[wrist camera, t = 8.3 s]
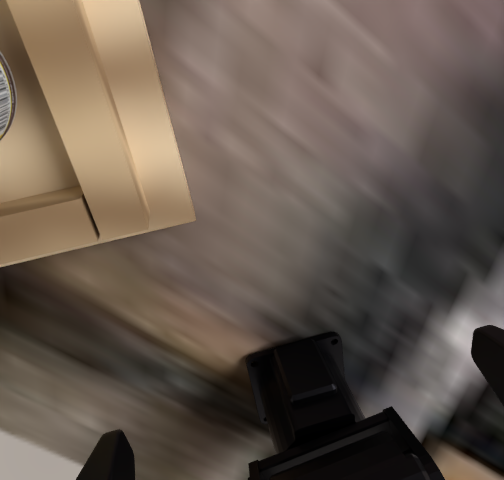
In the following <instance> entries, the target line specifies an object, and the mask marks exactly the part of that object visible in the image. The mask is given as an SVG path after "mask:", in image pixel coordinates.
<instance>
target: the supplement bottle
mask: <svg viewBox="0 0 504 480" xmlns="http://www.w3.org/2000/svg"><path fill="white" fill-rule="evenodd" d="M16 108H17V92H16V86H15V81H14V78H13V75H12V72H11V70H10V67H9V65H8V63H7V61H6V59H5V58H4V56H3V54H2V53H1V51H0V141H1V140H2V138H3V137H4V136H5V135H6V133H7V132H8V131H9V129H10V127H11V125H12V123H13V120H14V117H15V113H16Z"/></svg>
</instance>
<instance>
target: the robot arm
mask: <svg viewBox="0 0 504 480" xmlns="http://www.w3.org/2000/svg"><path fill="white" fill-rule="evenodd" d="M333 339H335V340H333ZM332 340H333V341H332ZM471 355H472V358H473V360H474V362H475V364H476V365H477V367H478V368H479V370H480V371H481V373H482V374H483V376H484V377H485V379H486V380H487V382H488V383H489V385H490V386H491V388H492V389H493V391H494V392H495V394H496V395H497V397H498V398H499V400H500V401H501V403H502V404H503V406H504V330H503V329H501V328H498V327H496V326H493V325H487V326H483V327H480V328H477V329H475V330H474V333H473V340H472V348H471ZM253 361H256V362H254V363H251V362H253ZM246 364H247V369H248V373H249V377H250V381H251V385H252V389H253V393H254V397H255V401H256V406H257V410H258V414H259V418H260V421H261V423H263V424H268V427H269V430H270V434H271V438H272V442H273V445H274V449H275V453H276V455H273V456H271V457H268V458H266V459H263V460H261V461H258V460H256V461H253V462H251V463H249V473H250V477H249V478H248V480H445V479H444V477H443V475H442V473H441V472H440V470H439V468H438V467H437V465H436V464H435V462H434V461H433V459H432V458H431V456H430V455H429V454H428V452H427V451H426V450H425V448H424V447H423V446H422V445H421V443H420V442H419V441H418V439H417V438H416V437H415V436H414V434H413V433H412V432H411V430H410V429H409V428H408V427H407V425H406V424H405V423H404V421H403V420H402V419H401V418H400V416H399V415H398V414H397V412H396V411H395V410H394V409H393V407H392V406H391V407H389V408H386V409H384V410H383V412H381V413H378V414H376V415H373V416H371V417H368V418H366V419H365V417H364V415H363V413H362V411H361V409H360V407H359V406H358V404H357V402H356V400H355V398H354V396H353V394H352V392H351V390H350V389H349V387H348V385H347V383H346V381H345V376H344V364H343V352H342V340H341V337H340V336H339V334H338V333H336V332H331V333H328V334H324V335H320V336H317V337H313V338H309V339H306V340H302V341H298V342H295V343H291V344H287V345H284V346H280V347H276V348H273V349H269V350H265V351H262V352H258V353H254V354H251V355H249V356H248V357H247V358H246ZM76 480H135V462H134V454H133V450H132V448H131V446H130V444H129V442H128V440H127V438H126V436H125V434H124V432H123V431H122V430H120V429H119V430H115V431H111V432H107V433H105V434H103V435H102V437H101V438H100V440H99V441H98V443H97V445H96V447H95V448H94V450H93V452H92V453H91V455H90V457H89V458H88V460H87V462H86V463H85V465H84V467H83V468H82V470H81V472H80V473H79V475H78V477H77V478H76Z"/></svg>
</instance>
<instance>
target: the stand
mask: <svg viewBox="0 0 504 480" xmlns="http://www.w3.org/2000/svg"><path fill="white" fill-rule="evenodd" d="M0 51H1V53H2V54H3V56H4V58H5V59H6V61H7V63H8V65H9V67H10V70H11V72H12V75H13V78H14V81H15V86H16V92H17V108H16V113H15V117H14V120H13V123H12V125H11V127H10V129H9V131H8V132H7V133H6V135H5V136H4V137H3V138H2V140H1V141H0V267H4V266H8V265H12V264H16V263H20V262H25V261H29V260H33V259H37V258H41V257H46V256H50V255H54V254H58V253H62V252H67V251H71V250H75V249H79V248H83V247H87V246H92V245H96V244H100V243H104V242H108V241H113V240H117V239H121V238H125V237H129V236H134V235H138V234H142V233H146V232H150V231H155V230H159V229H163V228H167V227H171V226H176V225H180V224H184V223H188V222H192V221H196V218H195V212H194V207H193V203H192V200H191V196H190V192H189V188H188V184H187V181H186V177H185V173H184V169H183V165H182V162H181V158H180V154H179V150H178V146H177V143H176V139H175V135H174V131H173V127H172V124H171V120H170V116H169V112H168V108H167V104H166V101H165V97H164V93H163V89H162V85H161V82H160V78H159V74H158V70H157V66H156V63H155V59H154V55H153V51H152V47H151V44H150V40H149V36H148V32H147V28H146V25H145V21H144V17H143V13H142V9H141V6H140V2H139V0H0Z"/></svg>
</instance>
